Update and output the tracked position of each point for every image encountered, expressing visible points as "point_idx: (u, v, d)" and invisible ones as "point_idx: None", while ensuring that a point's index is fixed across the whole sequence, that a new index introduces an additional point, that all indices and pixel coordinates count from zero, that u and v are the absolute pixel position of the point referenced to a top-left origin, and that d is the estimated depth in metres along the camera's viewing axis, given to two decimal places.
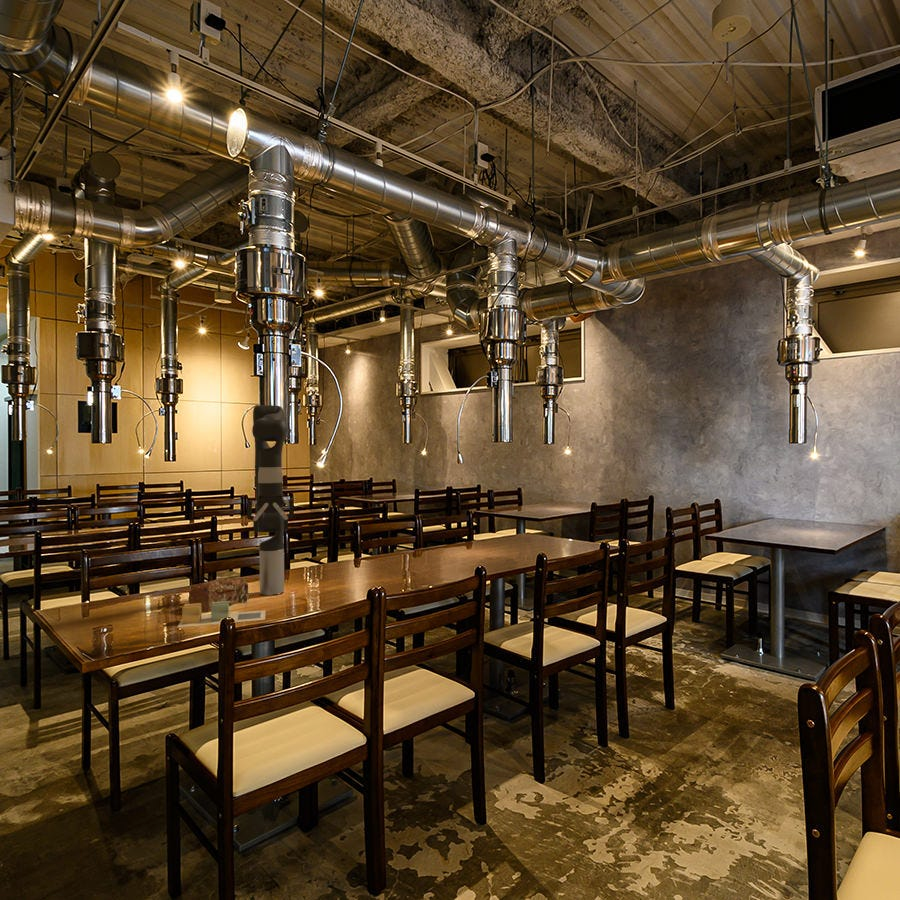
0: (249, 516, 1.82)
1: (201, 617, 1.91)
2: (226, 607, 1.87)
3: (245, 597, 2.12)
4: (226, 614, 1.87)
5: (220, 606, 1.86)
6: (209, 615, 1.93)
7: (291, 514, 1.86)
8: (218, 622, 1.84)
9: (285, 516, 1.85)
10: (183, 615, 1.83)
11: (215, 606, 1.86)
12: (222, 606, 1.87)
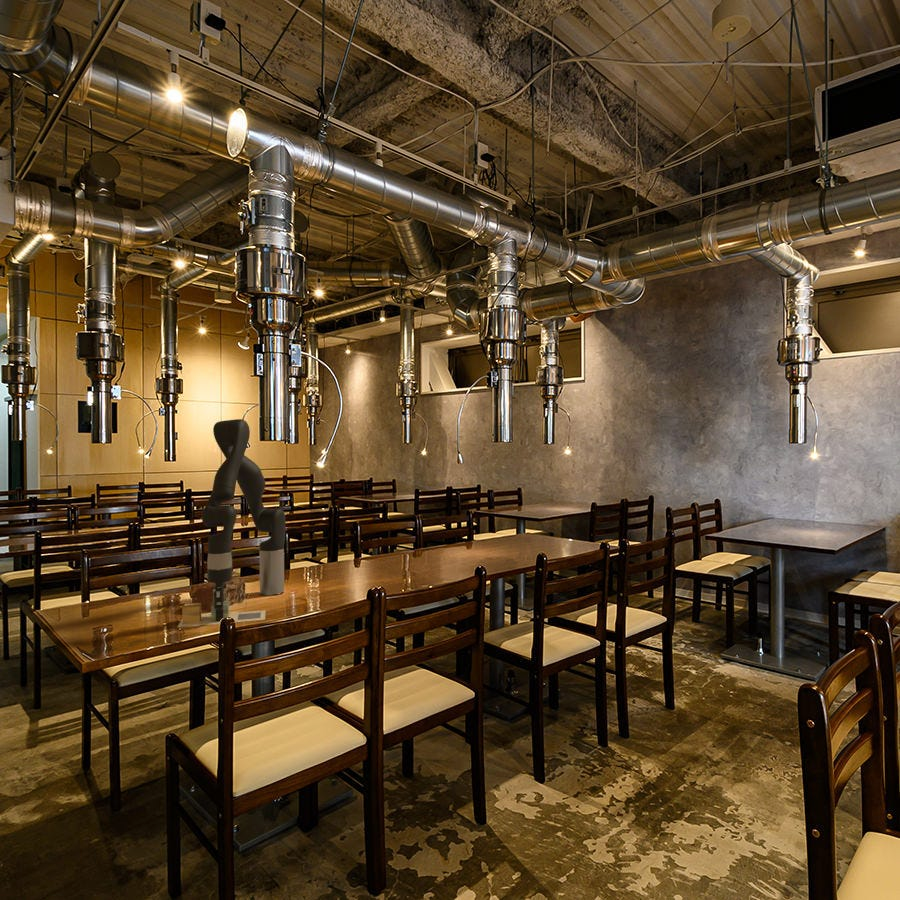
0: (222, 605, 1.84)
1: (201, 617, 1.91)
2: (226, 607, 1.87)
3: (243, 596, 2.14)
4: (226, 614, 1.87)
5: None
6: (209, 615, 1.93)
7: (225, 598, 1.94)
8: (218, 622, 1.84)
9: None
10: (183, 615, 1.83)
11: None
12: None
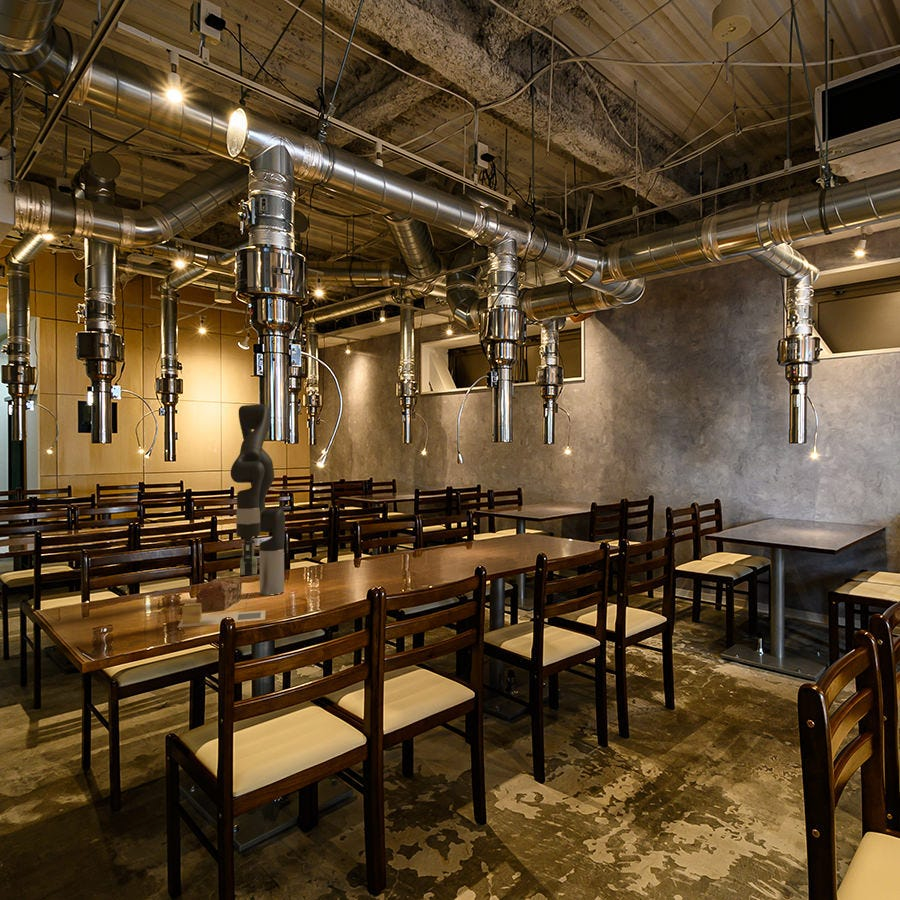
0: (251, 558, 1.87)
1: (201, 617, 1.91)
2: (254, 561, 1.90)
3: (240, 595, 2.16)
4: (255, 568, 1.90)
5: None
6: (209, 615, 1.93)
7: None
8: (218, 622, 1.84)
9: (252, 556, 1.95)
10: (183, 615, 1.83)
11: None
12: None
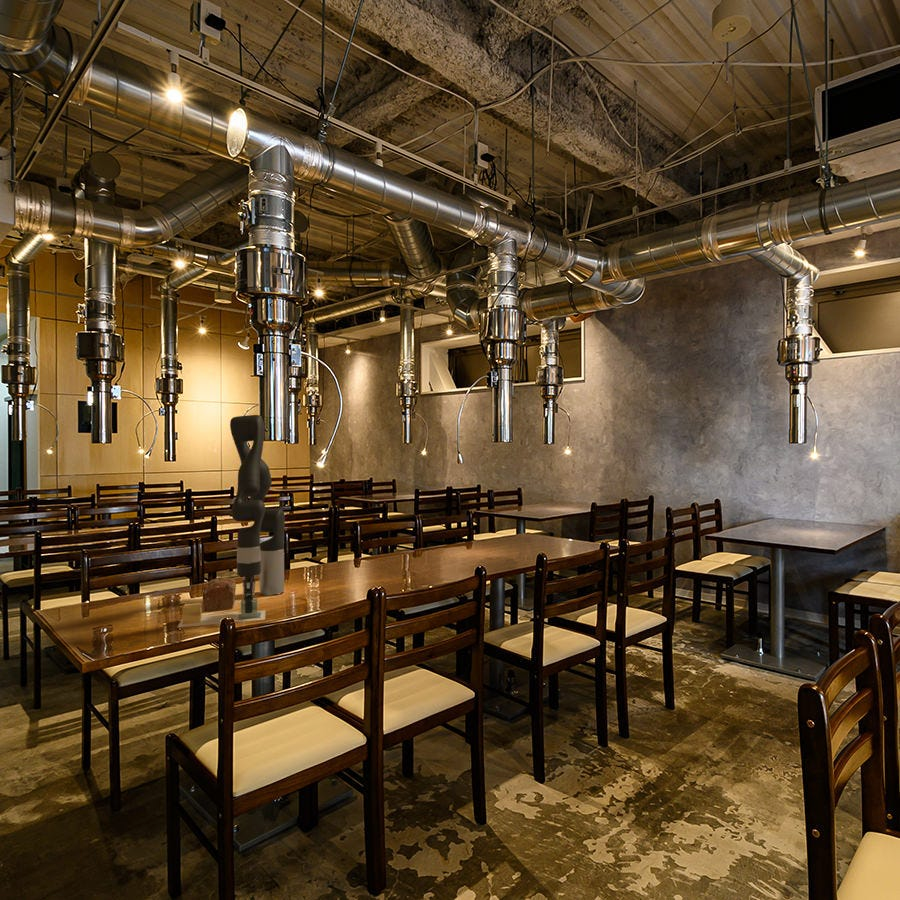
0: (252, 597, 1.86)
1: (201, 617, 1.91)
2: (255, 604, 1.90)
3: None
4: (255, 611, 1.90)
5: None
6: (209, 615, 1.93)
7: None
8: (218, 622, 1.84)
9: None
10: (183, 615, 1.83)
11: None
12: None
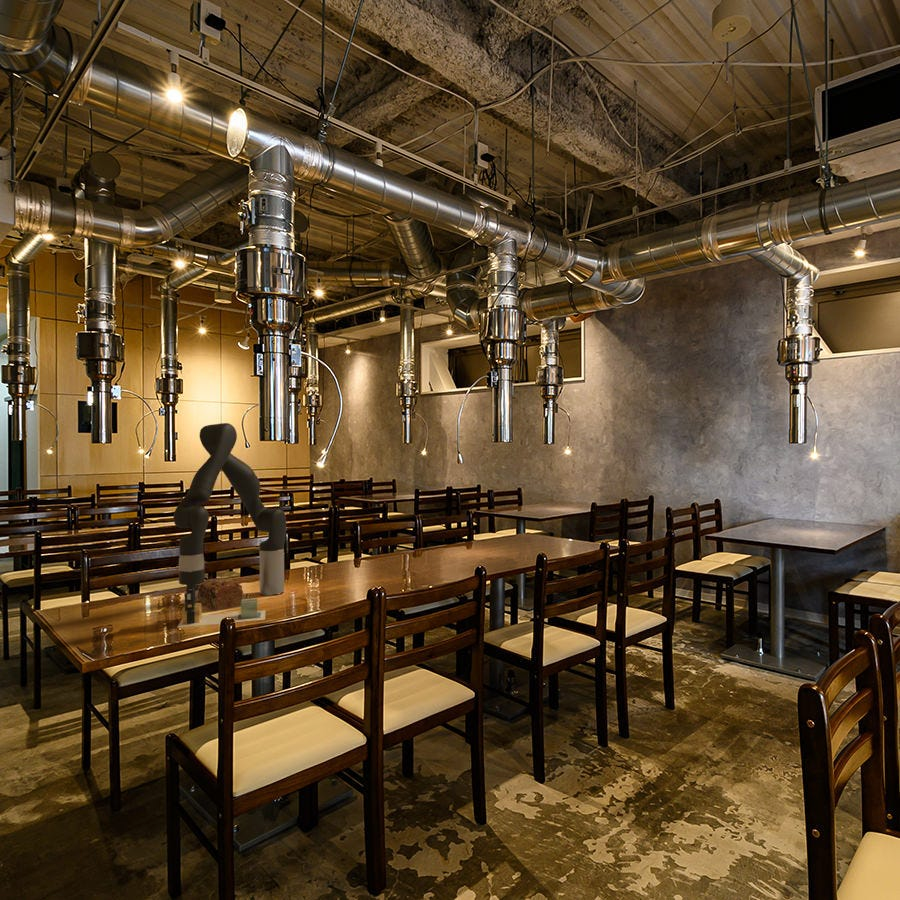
0: (193, 607, 1.82)
1: (201, 617, 1.91)
2: (255, 604, 1.90)
3: None
4: (255, 611, 1.90)
5: (249, 603, 1.89)
6: (209, 615, 1.93)
7: None
8: (218, 622, 1.84)
9: None
10: (183, 615, 1.83)
11: (245, 603, 1.89)
12: (251, 603, 1.89)
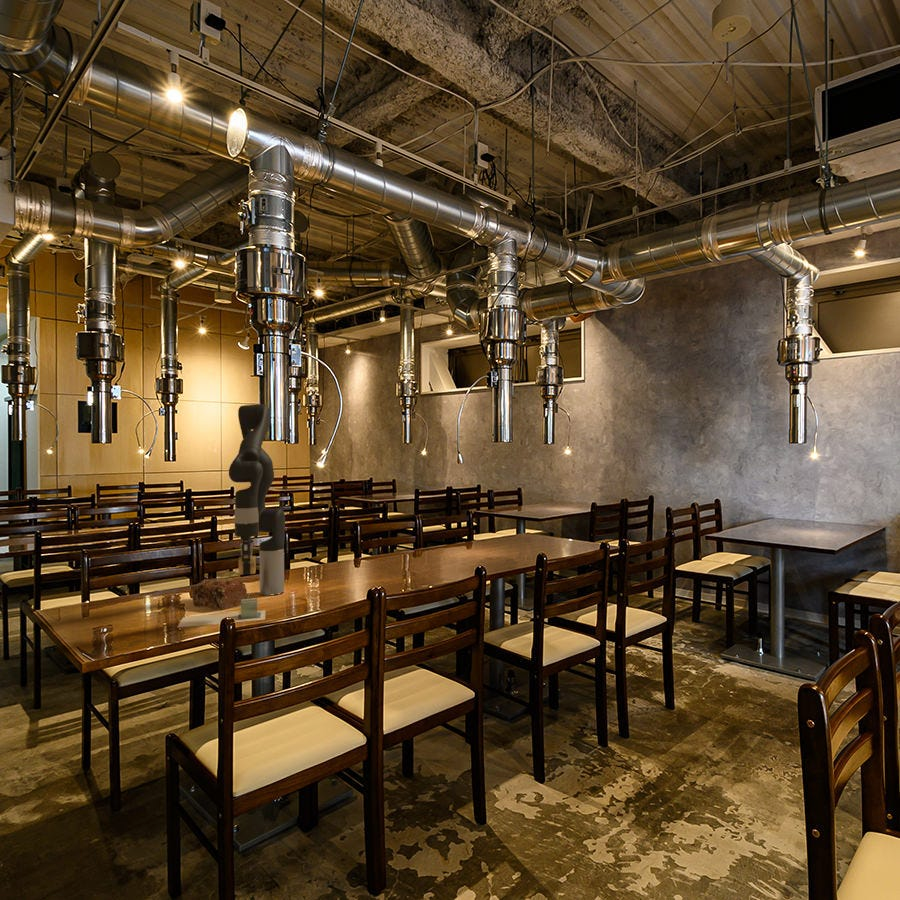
0: (250, 558, 1.87)
1: (201, 617, 1.91)
2: (255, 604, 1.90)
3: None
4: (255, 611, 1.90)
5: (249, 603, 1.89)
6: (209, 615, 1.93)
7: None
8: (218, 622, 1.84)
9: None
10: (239, 566, 1.89)
11: (245, 603, 1.89)
12: (251, 603, 1.89)
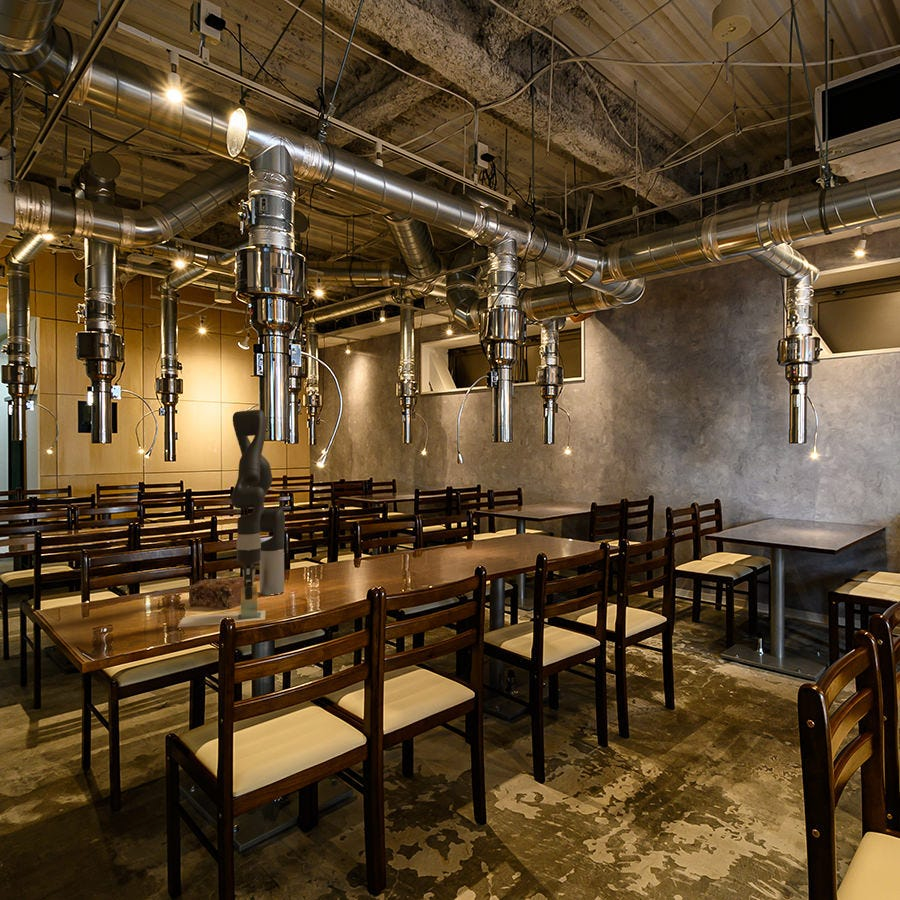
0: (252, 583, 1.86)
1: (201, 617, 1.91)
2: (255, 604, 1.90)
3: None
4: (255, 611, 1.90)
5: (249, 603, 1.89)
6: (209, 615, 1.93)
7: None
8: (218, 622, 1.84)
9: None
10: (241, 594, 1.88)
11: (245, 603, 1.89)
12: (251, 603, 1.89)
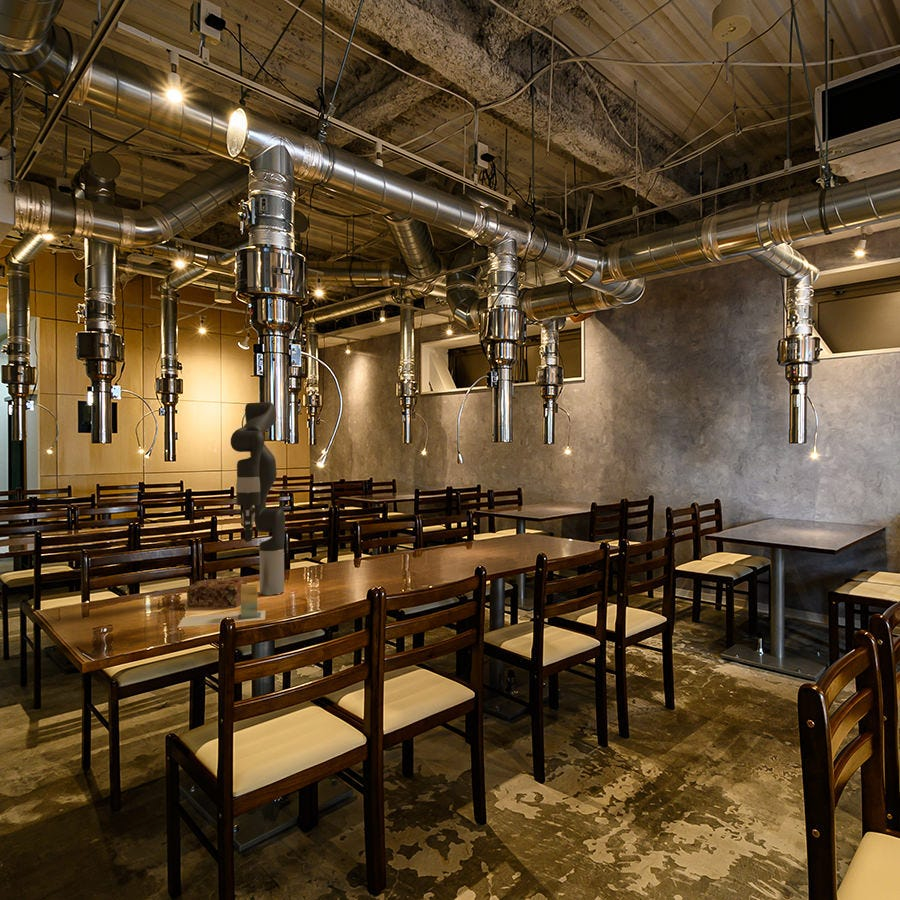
0: (251, 525, 1.86)
1: (201, 617, 1.91)
2: (255, 604, 1.90)
3: None
4: (255, 611, 1.90)
5: (249, 603, 1.89)
6: (209, 615, 1.93)
7: None
8: (218, 622, 1.84)
9: None
10: (241, 594, 1.88)
11: (245, 603, 1.89)
12: (251, 603, 1.89)
